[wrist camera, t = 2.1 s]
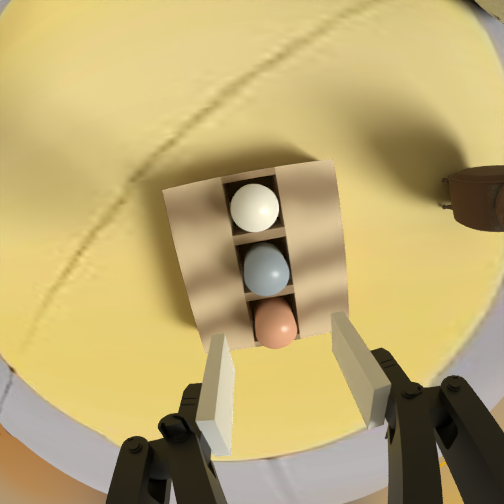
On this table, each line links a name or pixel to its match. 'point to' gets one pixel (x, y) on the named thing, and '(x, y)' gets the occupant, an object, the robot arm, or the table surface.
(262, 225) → the cream rounded piece
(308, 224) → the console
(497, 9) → the puzzle globe
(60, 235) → the table surface
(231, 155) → the table surface
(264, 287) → the blue egg
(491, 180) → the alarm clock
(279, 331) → the peach egg
